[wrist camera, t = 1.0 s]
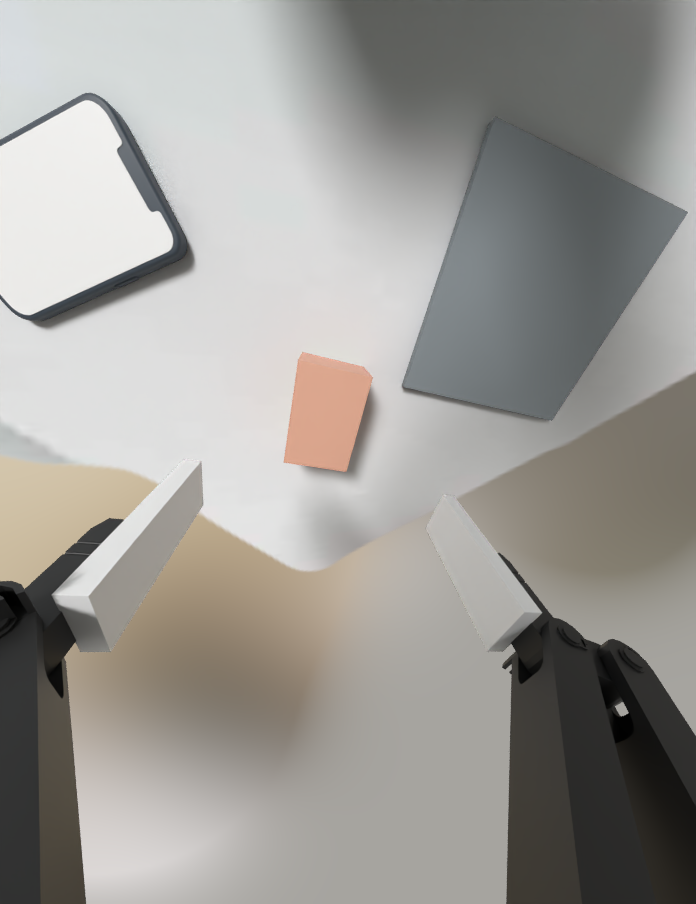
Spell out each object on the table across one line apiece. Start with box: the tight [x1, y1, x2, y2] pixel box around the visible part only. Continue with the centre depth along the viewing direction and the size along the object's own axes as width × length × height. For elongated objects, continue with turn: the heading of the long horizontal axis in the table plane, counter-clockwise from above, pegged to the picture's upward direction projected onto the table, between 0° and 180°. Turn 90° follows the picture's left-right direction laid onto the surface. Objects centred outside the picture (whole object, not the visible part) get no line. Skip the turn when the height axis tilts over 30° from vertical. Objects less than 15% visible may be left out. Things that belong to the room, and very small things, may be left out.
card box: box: [284, 352, 373, 472], centre depth 25 cm, size 10×6×6 cm, turn 166°
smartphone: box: [0, 93, 187, 321], centre depth 19 cm, size 9×2×16 cm
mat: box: [402, 116, 688, 421], centre depth 25 cm, size 20×20×1 cm
